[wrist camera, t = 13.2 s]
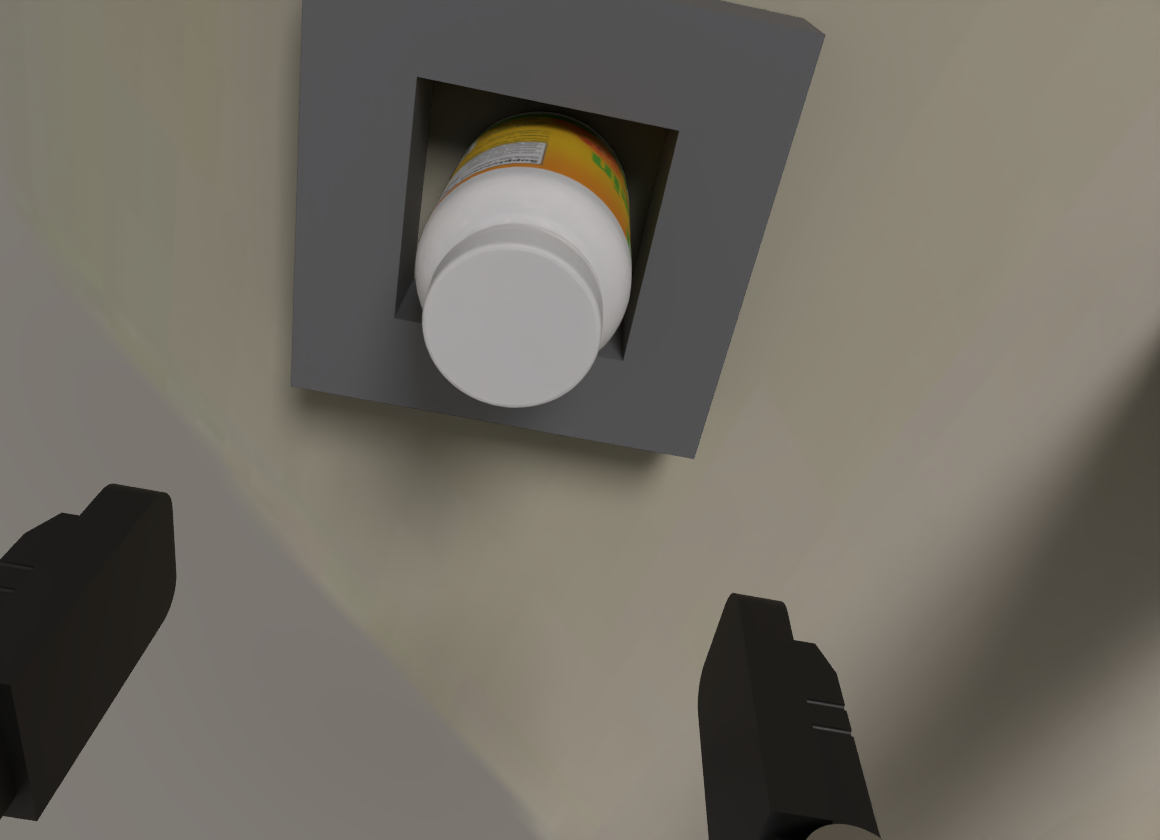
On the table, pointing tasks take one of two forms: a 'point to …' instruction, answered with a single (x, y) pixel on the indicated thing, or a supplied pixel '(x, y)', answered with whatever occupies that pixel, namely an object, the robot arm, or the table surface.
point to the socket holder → (564, 78)
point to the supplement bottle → (526, 260)
